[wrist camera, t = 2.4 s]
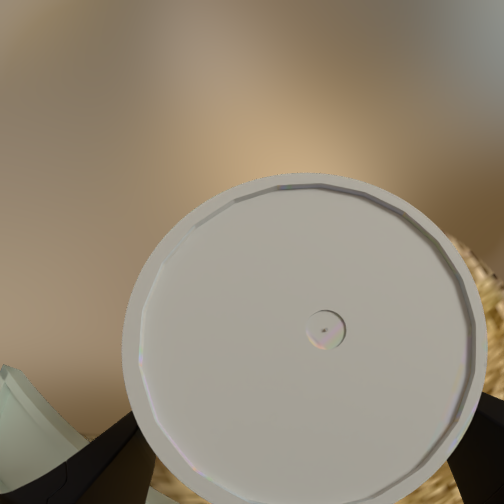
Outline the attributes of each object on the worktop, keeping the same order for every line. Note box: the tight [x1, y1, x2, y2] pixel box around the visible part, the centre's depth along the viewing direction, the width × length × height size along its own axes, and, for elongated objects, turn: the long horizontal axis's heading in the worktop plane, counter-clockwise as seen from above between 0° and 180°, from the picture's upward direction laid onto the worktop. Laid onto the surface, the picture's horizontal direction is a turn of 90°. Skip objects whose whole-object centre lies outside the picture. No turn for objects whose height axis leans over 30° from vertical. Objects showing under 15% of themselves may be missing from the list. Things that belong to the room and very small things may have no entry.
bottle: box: [122, 173, 487, 504], centre depth 10 cm, size 7×7×15 cm
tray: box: [0, 365, 180, 504], centre depth 10 cm, size 12×16×4 cm
